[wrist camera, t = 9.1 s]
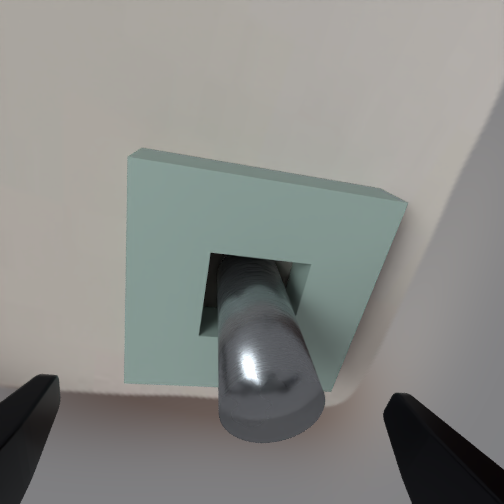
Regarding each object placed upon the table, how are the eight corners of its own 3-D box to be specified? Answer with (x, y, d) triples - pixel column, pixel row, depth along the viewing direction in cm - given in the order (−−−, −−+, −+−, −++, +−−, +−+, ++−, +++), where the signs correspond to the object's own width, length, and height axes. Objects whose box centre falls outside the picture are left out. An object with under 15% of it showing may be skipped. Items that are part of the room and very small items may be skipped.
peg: (270, 301, 22) (309, 443, 13) (213, 296, 21) (212, 442, 12) (283, 250, 20) (338, 372, 11) (221, 243, 19) (227, 366, 10)
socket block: (318, 360, 25) (331, 391, 22) (135, 349, 22) (124, 383, 19) (380, 188, 19) (408, 202, 16) (141, 147, 16) (127, 156, 14)
